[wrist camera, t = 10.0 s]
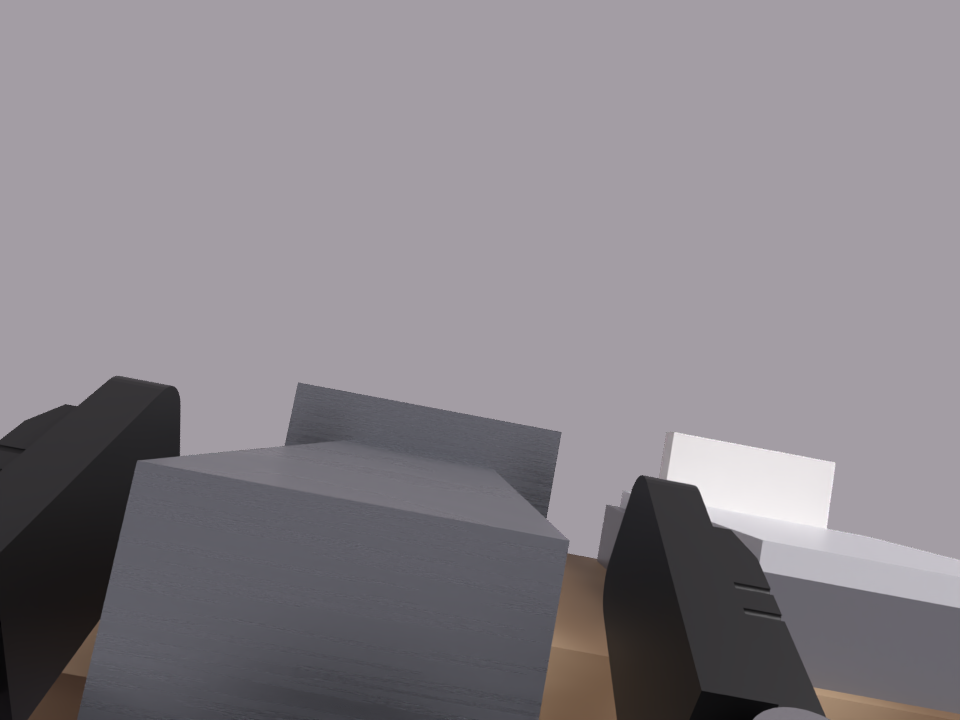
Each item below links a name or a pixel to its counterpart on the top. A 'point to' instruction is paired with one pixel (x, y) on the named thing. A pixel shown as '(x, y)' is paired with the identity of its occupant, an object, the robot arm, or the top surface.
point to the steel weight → (337, 573)
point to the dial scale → (827, 574)
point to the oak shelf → (570, 675)
